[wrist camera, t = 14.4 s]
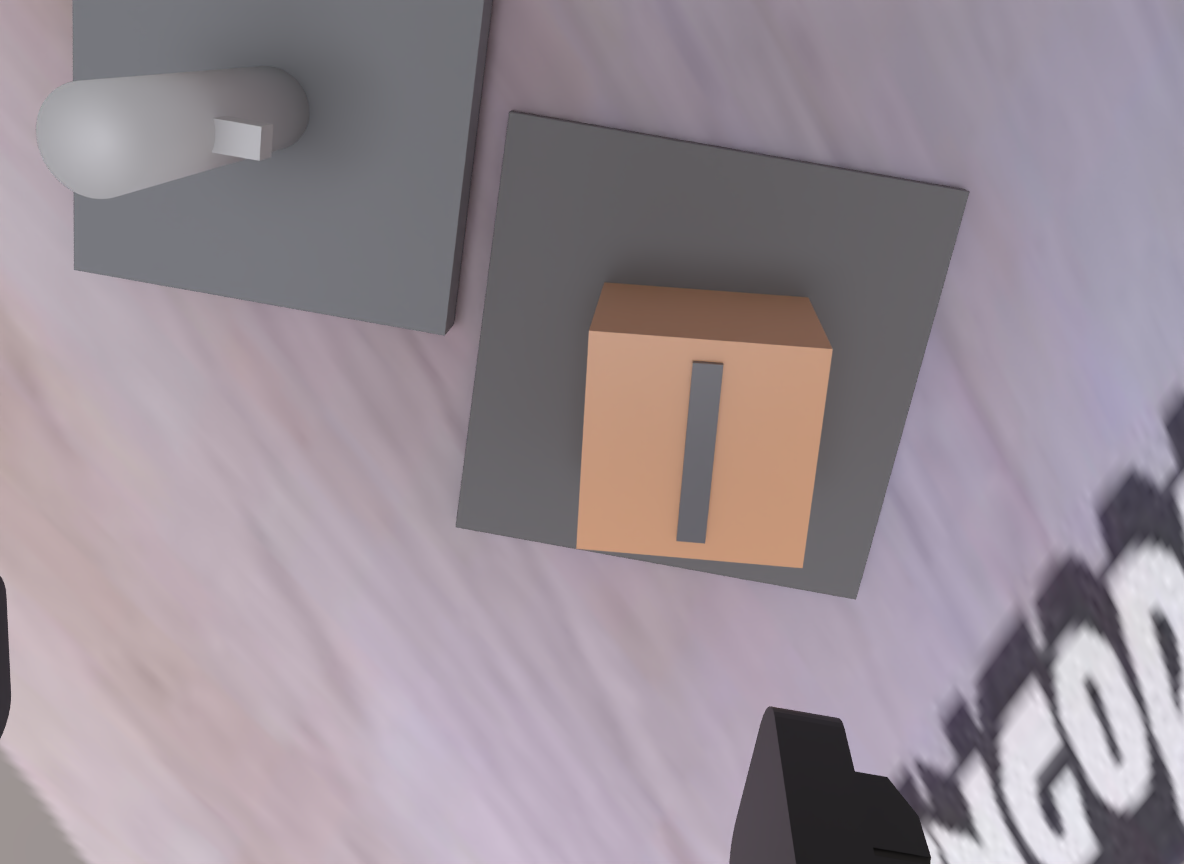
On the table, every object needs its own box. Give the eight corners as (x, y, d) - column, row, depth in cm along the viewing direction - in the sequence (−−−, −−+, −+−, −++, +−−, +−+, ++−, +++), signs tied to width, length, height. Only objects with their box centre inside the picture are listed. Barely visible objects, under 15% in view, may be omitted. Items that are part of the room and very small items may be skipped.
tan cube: (808, 297, 34) (833, 351, 29) (784, 485, 37) (803, 571, 31) (604, 282, 35) (588, 332, 29) (592, 470, 37) (575, 551, 31)
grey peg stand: (98, -141, 32) (-216, -234, 21) (501, -72, 32) (403, -128, 21) (97, 260, 36) (-165, 362, 25) (453, 323, 36) (350, 454, 25)
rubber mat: (512, 110, 34) (509, 111, 33) (964, 189, 33) (969, 191, 33) (458, 520, 39) (455, 527, 38) (853, 591, 38) (856, 599, 38)
